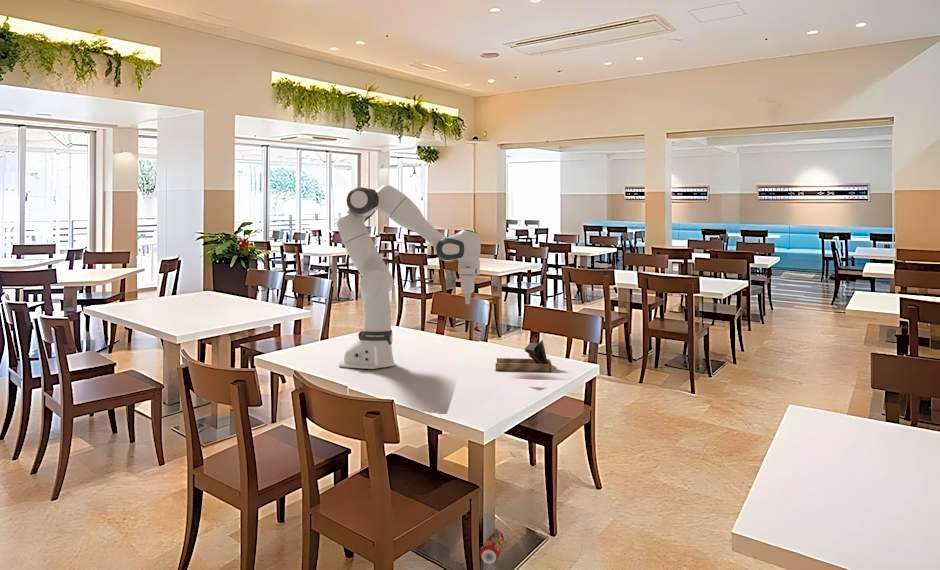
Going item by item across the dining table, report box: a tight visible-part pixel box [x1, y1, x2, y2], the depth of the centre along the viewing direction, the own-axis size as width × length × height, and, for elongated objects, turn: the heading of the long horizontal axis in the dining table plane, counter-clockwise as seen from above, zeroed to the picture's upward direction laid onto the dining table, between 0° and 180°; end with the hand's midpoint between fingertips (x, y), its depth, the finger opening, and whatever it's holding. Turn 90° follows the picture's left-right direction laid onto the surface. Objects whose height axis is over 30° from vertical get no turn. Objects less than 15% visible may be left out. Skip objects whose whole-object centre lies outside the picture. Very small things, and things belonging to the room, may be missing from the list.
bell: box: [524, 339, 548, 364], centre depth 253 cm, size 10×7×12 cm
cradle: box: [495, 357, 553, 373], centre depth 251 cm, size 22×14×3 cm, turn 86°
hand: (467, 304), depth 252 cm, fingers closed
